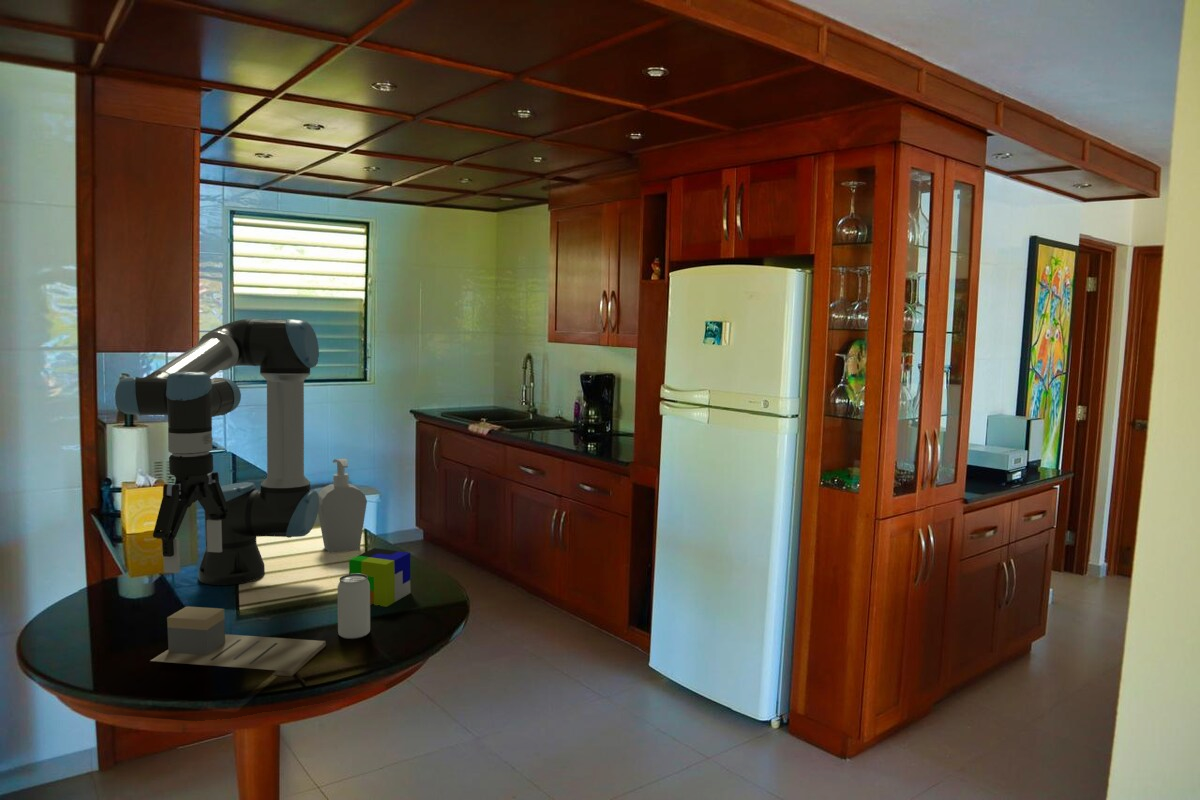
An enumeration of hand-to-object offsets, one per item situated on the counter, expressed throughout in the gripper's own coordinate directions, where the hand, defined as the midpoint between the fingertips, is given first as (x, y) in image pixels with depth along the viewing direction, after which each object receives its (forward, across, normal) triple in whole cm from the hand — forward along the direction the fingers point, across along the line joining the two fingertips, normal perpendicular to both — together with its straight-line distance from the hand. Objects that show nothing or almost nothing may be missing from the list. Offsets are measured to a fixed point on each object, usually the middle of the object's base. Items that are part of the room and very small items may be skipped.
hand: (194, 561), depth 157 cm
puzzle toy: (+18, +36, -23) cm, 47 cm away
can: (+18, +14, -26) cm, 35 cm away
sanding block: (+17, 0, 0) cm, 17 cm away
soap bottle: (+18, +71, +2) cm, 74 cm away
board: (+18, 0, -9) cm, 20 cm away
